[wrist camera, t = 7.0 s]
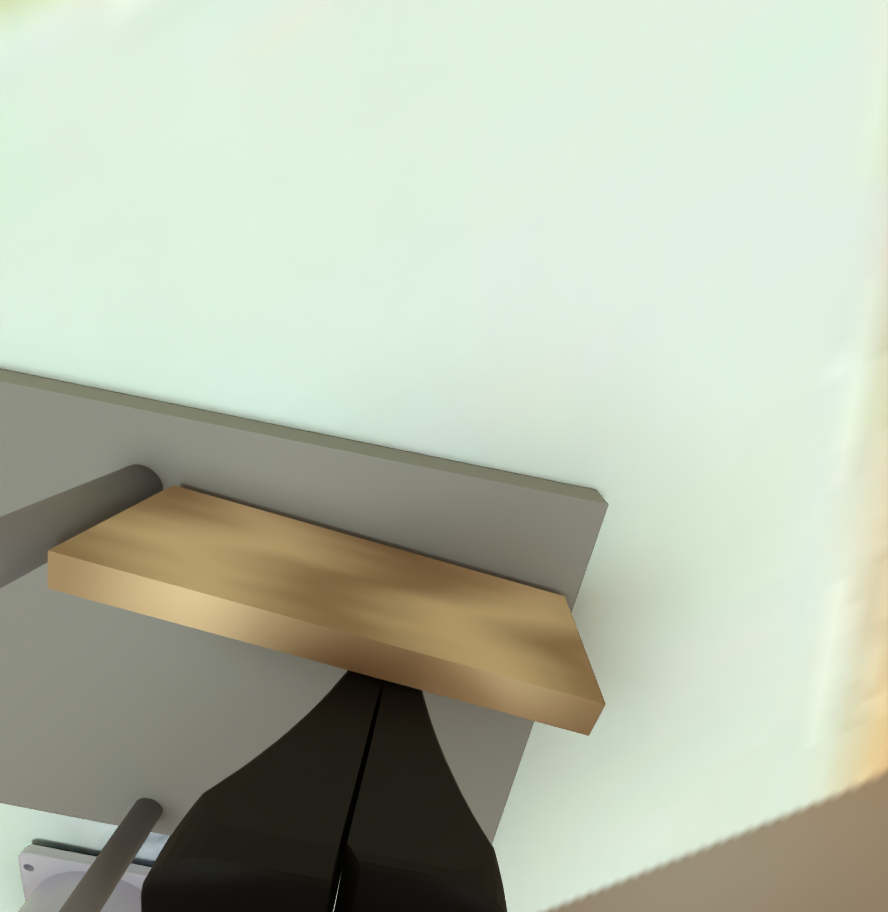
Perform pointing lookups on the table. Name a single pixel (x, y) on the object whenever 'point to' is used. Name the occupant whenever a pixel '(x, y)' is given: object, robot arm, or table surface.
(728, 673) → the table surface
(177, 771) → the gate board
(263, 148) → the table surface
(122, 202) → the table surface
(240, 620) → the board
